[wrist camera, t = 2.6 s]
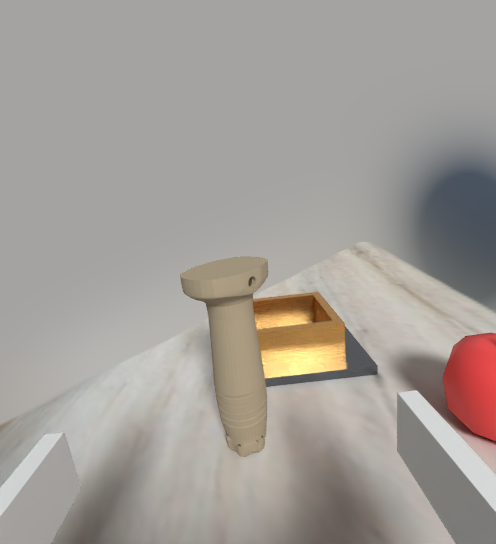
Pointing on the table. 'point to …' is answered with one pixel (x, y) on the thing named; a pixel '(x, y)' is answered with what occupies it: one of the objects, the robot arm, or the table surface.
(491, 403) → the apple
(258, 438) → the handle
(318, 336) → the socket
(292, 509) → the table surface
